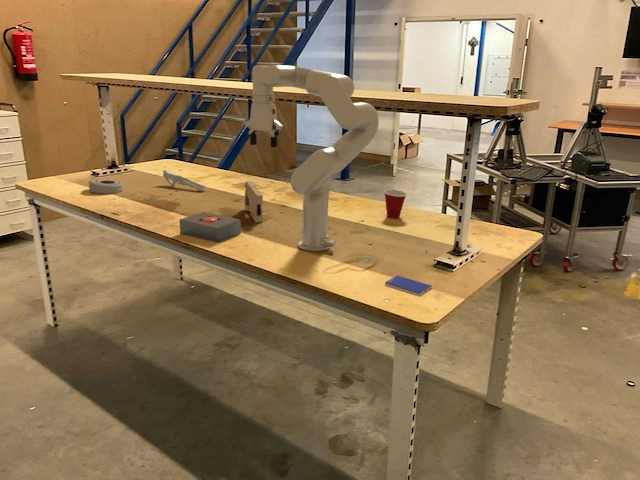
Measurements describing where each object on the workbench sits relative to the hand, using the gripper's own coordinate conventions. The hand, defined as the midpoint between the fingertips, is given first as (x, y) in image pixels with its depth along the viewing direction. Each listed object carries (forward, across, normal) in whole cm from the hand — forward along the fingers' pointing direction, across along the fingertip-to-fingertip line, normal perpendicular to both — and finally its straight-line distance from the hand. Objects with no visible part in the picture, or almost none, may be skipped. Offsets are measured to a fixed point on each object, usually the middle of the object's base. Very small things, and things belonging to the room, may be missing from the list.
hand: (263, 145), depth 199 cm
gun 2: (+37, +21, -20) cm, 47 cm away
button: (+33, +19, +11) cm, 40 cm away
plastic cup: (+36, -33, -57) cm, 75 cm away
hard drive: (+37, -69, +16) cm, 80 cm away
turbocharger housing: (+37, +114, -12) cm, 120 cm away
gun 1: (+37, +86, -42) cm, 102 cm away
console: (+36, +19, +11) cm, 42 cm away
